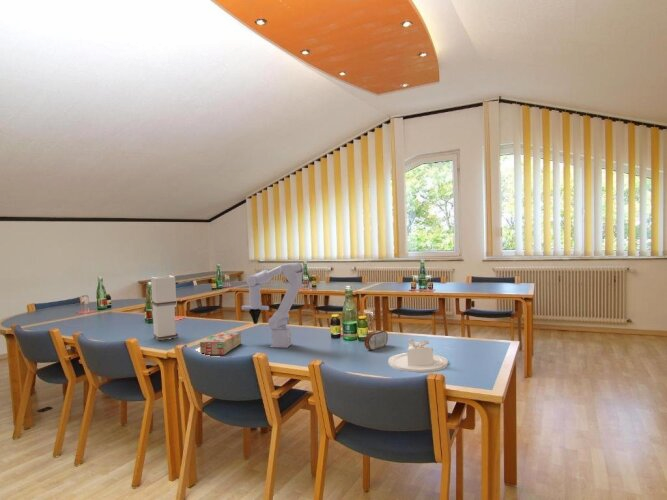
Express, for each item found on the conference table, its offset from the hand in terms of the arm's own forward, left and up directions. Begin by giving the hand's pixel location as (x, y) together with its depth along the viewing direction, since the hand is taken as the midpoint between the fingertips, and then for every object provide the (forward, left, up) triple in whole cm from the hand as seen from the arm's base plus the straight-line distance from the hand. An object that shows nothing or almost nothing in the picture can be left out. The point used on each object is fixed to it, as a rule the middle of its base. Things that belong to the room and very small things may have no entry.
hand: (255, 323), depth 225 cm
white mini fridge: (+59, -7, -11) cm, 60 cm away
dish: (-84, +25, -11) cm, 89 cm away
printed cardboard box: (+7, +13, -7) cm, 16 cm away
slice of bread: (-64, +4, -11) cm, 65 cm away
